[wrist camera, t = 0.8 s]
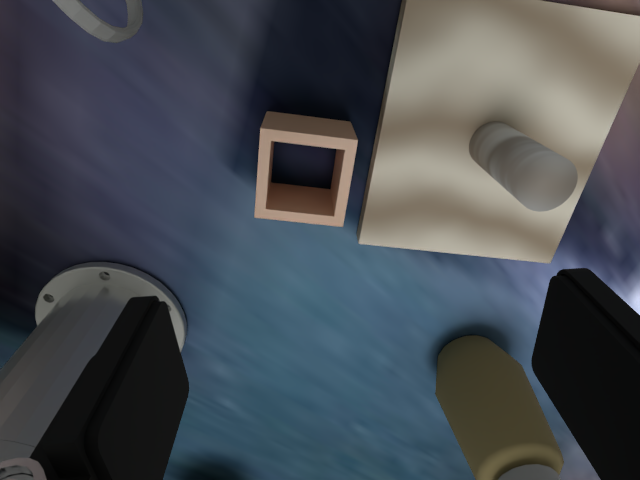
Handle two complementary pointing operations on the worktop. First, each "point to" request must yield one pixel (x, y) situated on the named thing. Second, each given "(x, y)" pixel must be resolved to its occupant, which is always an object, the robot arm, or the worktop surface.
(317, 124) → the collar
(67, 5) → the glass holder
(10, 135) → the worktop surface
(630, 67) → the base
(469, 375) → the squeeze bottle
